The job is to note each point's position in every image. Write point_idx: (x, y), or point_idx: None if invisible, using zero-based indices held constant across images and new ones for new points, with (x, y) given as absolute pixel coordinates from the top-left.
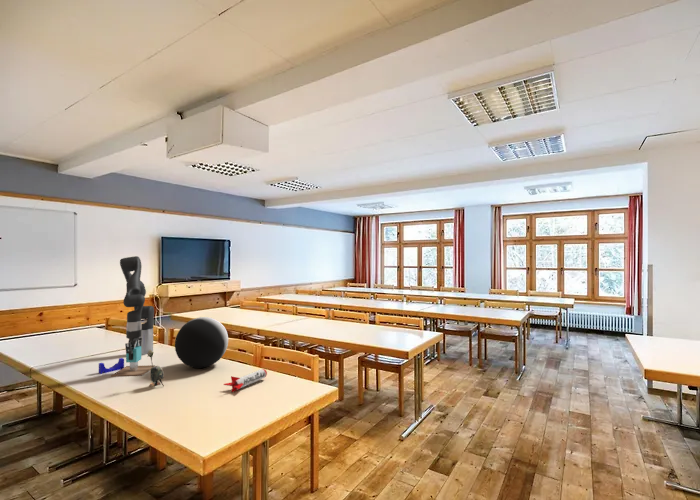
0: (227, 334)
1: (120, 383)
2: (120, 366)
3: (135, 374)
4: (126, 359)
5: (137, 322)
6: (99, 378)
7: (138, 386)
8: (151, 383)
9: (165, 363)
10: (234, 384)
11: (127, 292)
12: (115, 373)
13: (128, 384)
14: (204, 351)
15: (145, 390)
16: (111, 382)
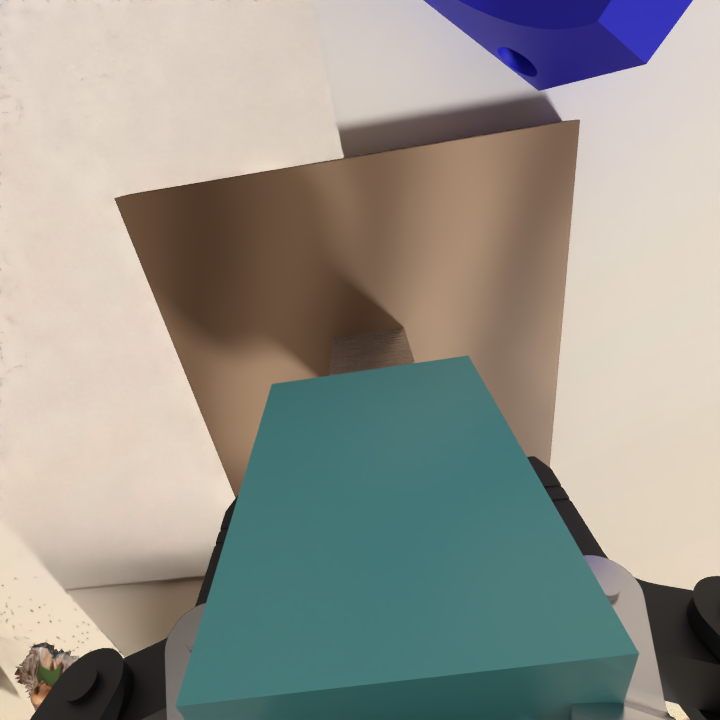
0: None
1: (33, 434)
2: (513, 47)
3: (235, 466)
4: (264, 425)
5: None
6: (38, 5)
7: (50, 588)
8: (42, 699)
9: (658, 489)
10: None
11: None
12: (206, 203)
13: (48, 508)
14: None
15: (16, 651)
16: (8, 327)
